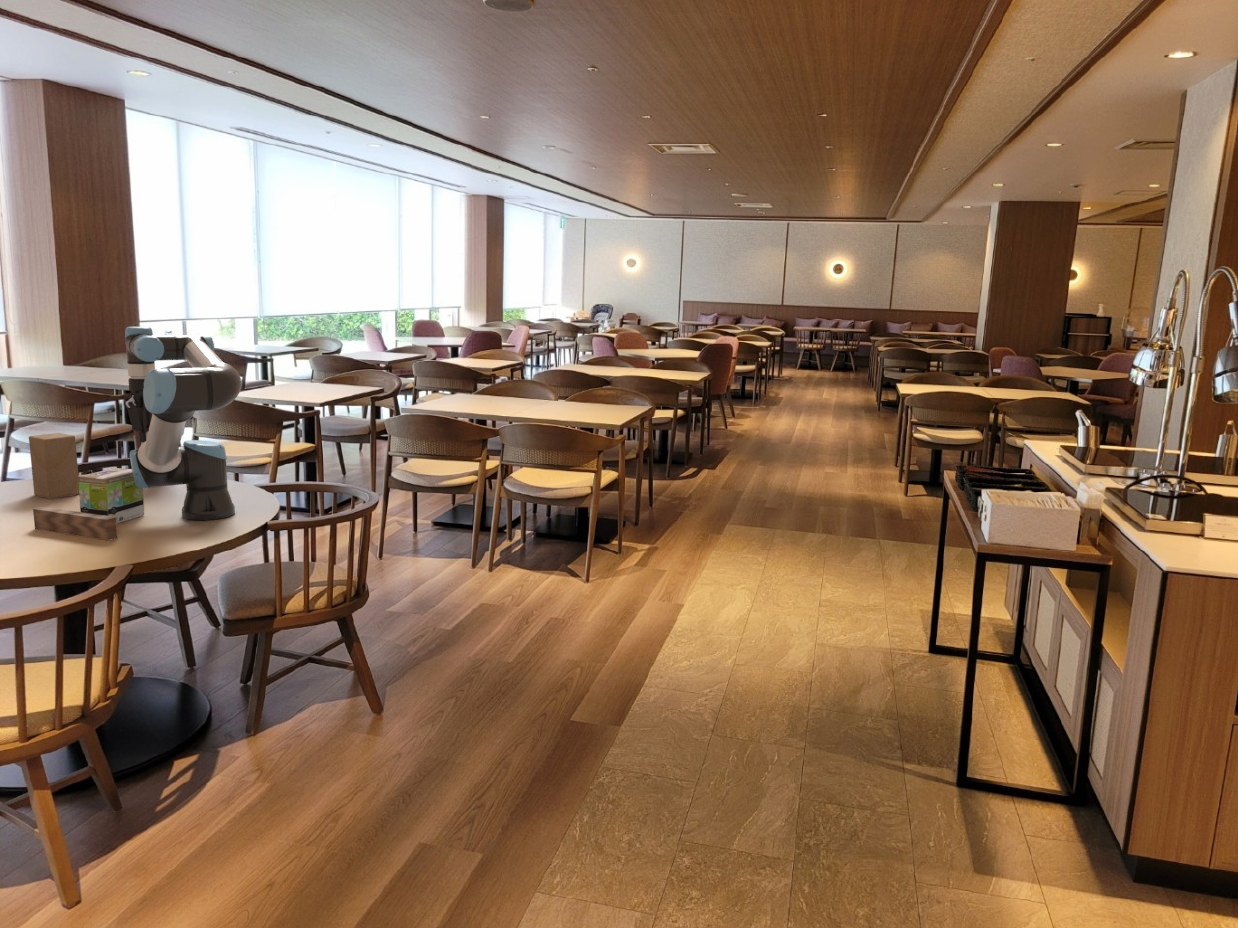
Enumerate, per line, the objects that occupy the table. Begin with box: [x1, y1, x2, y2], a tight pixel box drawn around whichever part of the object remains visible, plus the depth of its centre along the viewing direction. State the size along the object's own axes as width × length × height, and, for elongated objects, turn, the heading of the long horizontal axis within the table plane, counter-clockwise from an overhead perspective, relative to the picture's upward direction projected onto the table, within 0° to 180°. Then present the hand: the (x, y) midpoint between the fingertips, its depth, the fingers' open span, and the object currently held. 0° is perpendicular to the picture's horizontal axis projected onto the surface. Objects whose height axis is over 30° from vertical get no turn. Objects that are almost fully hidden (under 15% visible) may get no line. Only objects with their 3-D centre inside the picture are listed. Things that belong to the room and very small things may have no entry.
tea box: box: [78, 467, 145, 525], centre depth 272 cm, size 15×10×15 cm, turn 168°
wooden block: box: [28, 432, 80, 500], centre depth 300 cm, size 10×10×20 cm
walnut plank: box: [32, 506, 118, 541], centre depth 257 cm, size 28×3×6 cm, turn 70°
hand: (147, 452), depth 283 cm, fingers closed
